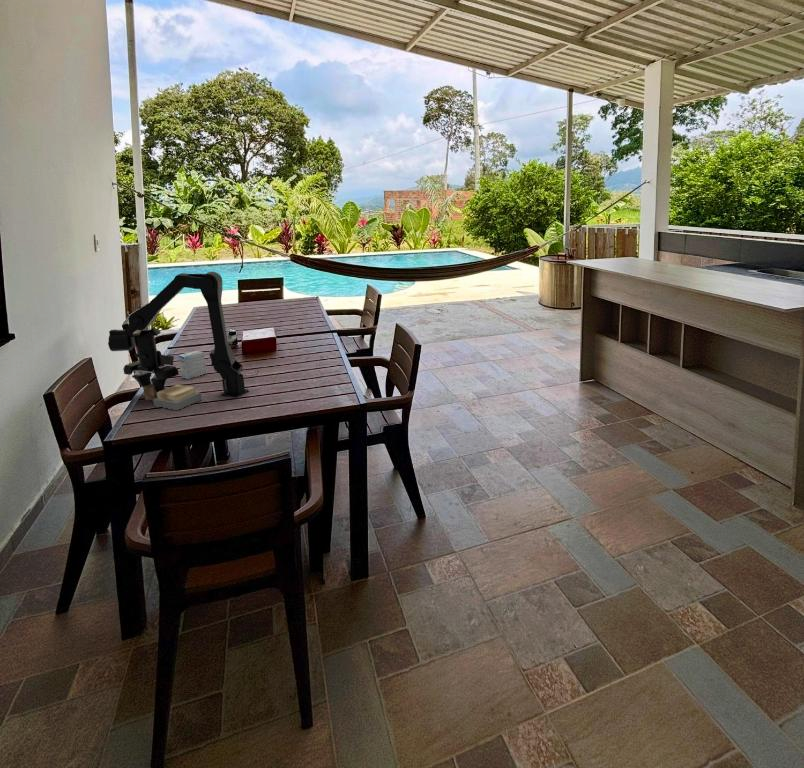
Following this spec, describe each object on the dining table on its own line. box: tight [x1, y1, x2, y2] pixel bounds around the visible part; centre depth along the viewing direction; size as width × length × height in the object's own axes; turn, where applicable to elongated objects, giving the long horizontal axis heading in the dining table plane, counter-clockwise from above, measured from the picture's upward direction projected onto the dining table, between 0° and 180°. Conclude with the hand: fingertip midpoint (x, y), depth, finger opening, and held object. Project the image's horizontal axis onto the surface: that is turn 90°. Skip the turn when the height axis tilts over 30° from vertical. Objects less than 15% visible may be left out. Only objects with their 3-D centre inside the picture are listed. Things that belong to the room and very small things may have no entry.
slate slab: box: [152, 391, 203, 411], centre depth 176 cm, size 10×10×2 cm
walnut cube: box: [142, 382, 166, 402], centre depth 181 cm, size 4×4×4 cm
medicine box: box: [177, 350, 207, 380], centre depth 202 cm, size 8×4×9 cm, turn 141°
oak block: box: [157, 384, 197, 402], centre depth 175 cm, size 8×8×2 cm
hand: (155, 395), depth 181 cm, fingers closed on walnut cube, 4 cm apart
